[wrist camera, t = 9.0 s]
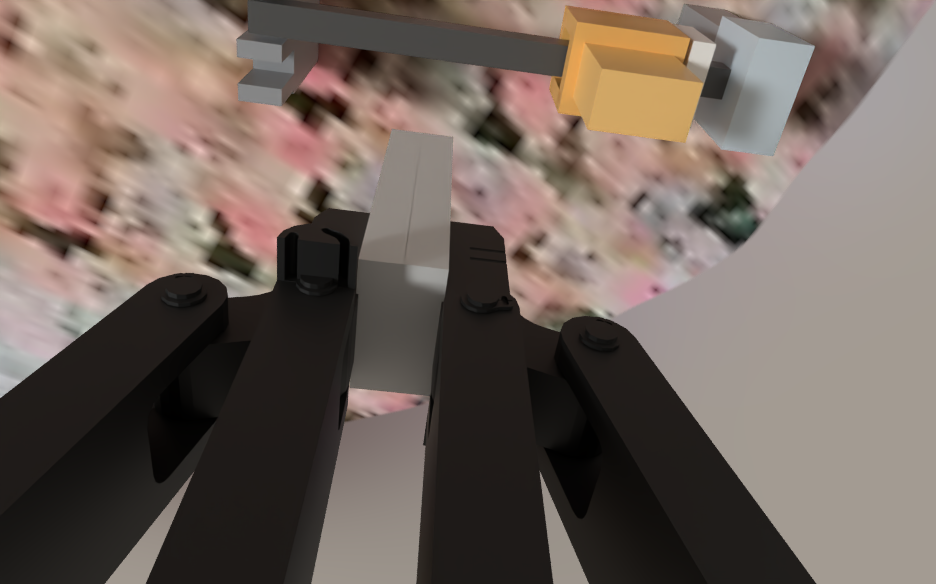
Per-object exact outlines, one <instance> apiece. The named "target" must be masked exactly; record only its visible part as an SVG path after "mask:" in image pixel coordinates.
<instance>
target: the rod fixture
mask: <svg viewBox="0 0 936 584" xmlns="http://www.w3.org/2000/svg"><path fill="white" fill-rule="evenodd" d="M673 25H674V26H675V27H677V28H678V29H679V30H680V31H682V32H683V33H684V34H686V35H687V36H688V37H689V38H690V42H689V45H688V48H687V52H686V55H685V59H684V62H683V64H684V65H685V66H686V67H687V68H688V69H689V70H690V71H691V72H692V73H693V74H694V75H696V76H697V77H698V78H699V79H700V80H701V81H702V82H703V83H704V84H703V87H702V90H701V94H700V97H699V100H698V103H697V106H696V110H695V113H694V116H693V118H694V119H695V120H696V121H697V123H698V124H699V125H700V126H701V127H702V128H703V129H704V130H705V132H706V133H707V134H708V135H709V136H710V137H711V138H712V139H713V140H714V142H715V143H716V144H717V145H718V146H719V147H720V148H721V149H723V150H730V151H738V152H745V153H752V154H760V155H767V156H773V155H774V153H775V150H776V148H777V145H778V142H779V140H780V137H781V134H782V132H783V129H784V127H785V124H786V121H787V119H788V116H789V113H790V111H791V108H792V106H793V103H794V100H795V98H796V95H797V92H798V90H799V87H800V85H801V82H802V79H803V77H804V74H805V71H806V69H807V66H808V64H809V61H810V58H811V56H812V53H813V50H814V48H815V46H814V45H812V44H810V43H808V42H806V41H804V40H802V39H801V38H799V37H797V36H795V35H793V34H791V33H789V32H787V31H785V30H783V29H782V28H780V27H778V26H776V25H774V24H772V23H766V22H760V21H753V20H746V19H741V18H739V17H737V16H736V15H734V14H732V13H730V12H729V11H727V10H722V9H716V8H709V7H702V6H696V5H689V4H684V5H683V9H682V12H681V16H680V19H679V23H678V25H677V24H673ZM318 43H322V44H329V45H336V46H343V47H350V48H358V49H365V50H372V51H379V52H386V53H393V54H400V55H407V56H414V57H422V58H429V59H436V60H443V61H450V62H457V63H464V64H471V65H478V66H486V67H493V68H500V69H507V70H514V71H521V72H528V73H535V74H542V75H550V76H557V77H562V75H563V70H564V65H565V60H566V55H567V50H568V45H569V40H564V39H557V38H550V37H543V36H536V35H530V34H523V33H516V32H509V31H502V30H495V29H488V28H481V27H474V26H467V25H460V24H454V23H447V22H440V21H433V20H426V19H419V18H412V17H405V16H398V15H391V14H385V13H378V12H371V11H364V10H357V9H350V8H343V7H336V6H329V5H322V4H320V0H248V30H247V31H246V32H245V33H244V34H242V35H241V36H240V37H238V38H237V57H240V58H247V59H253V69H252V70H251V71H250V72H249V73H248V74H247V75H246V76H245V77H244V78H243V79H242V80H241V81H240V82H239V83H238V101H246V102H253V103H261V104H268V105H276V106H282V105H283V104H284V102H285V101H286V100H287V98H288V97H289V96H290V94H291V93H292V94H294V93H295V91H296V90H297V89H298V87H299V86H300V84H301V83H302V82H303V80H304V79H305V78H306V76H307V75H308V73H309V72H310V71H311V69H312V68H313V67H314V65H315V64H316V62H317V61H318ZM692 122H693V119H692ZM691 125H692V123H691ZM690 128H691V126H690Z"/></svg>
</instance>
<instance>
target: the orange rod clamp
mask: <svg viewBox="0 0 936 584" xmlns="http://www.w3.org/2000/svg"><path fill="white" fill-rule="evenodd" d="M559 39H564V40H569V45H568V50H567V55H566V60H565V65H564V70H563V75H562V77H557V76H552V78H551V83H550V88H549V90H550V92H551V95H552V98H553V100H554V103H555V105H556V108H557V111H558V113H562V114H569V115H576V116H582V118H583V120H584V122H585V125H586V127H587V129H588V130H594V131H602V132H609V133H617V134H624V135H631V136H639V137H646V138H654V139H661V140H668V141H676V142H683V143H685V142H686V139H687V135H688V132H689V129H690V126H691V123H692V119H693V116H694V113H695V110H696V106H697V103H698V100H699V97H700V94H701V90H702V87H703V84H704V83H703V82H702V81H701V80H700V79H699V78H698V77H697V76H696V75H694V74H693V73H692V72H691V71H690V70H689V69H688V68H687V67H686V66H685V65H684V64H683V62H684V59H685V55H686V52H687V48H688V45H689V42H690V38H689V37H688V36H687V35H686V34H684V33H683V32H682V31H680V30H679V29H678V28H677V27H675V26H674V25H673V24H671V23H670V22H669V21H667V20H661V19H654V18H647V17H641V16H634V15H627V14H620V13H614V12H607V11H600V10H594V9H587V8H580V7H573V6H567V5H566V7H565V12H564V17H563V22H562V27H561V32H560V37H559Z"/></svg>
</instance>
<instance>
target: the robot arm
mask: <svg viewBox="0 0 936 584" xmlns="http://www.w3.org/2000/svg"><path fill="white" fill-rule="evenodd" d="M452 155H453V137H449V136H442V135H434V134H427V133H419V132H412V131H404V130H396V129H392V131H391V135H390V139H389V143H388V147H387V150H386V154H385V158H384V162H383V166H382V170H381V174H380V177H379V181H378V185H377V189H376V193H375V197H374V201H373V204H372V208H371V212H370V213H364V212H356V211H347V210H339V209H331V208H328V209H327V210H325V211H324V212H322V213H321V214H319V215H318V216H316V217H315V218H314V220H313V222H312V224H304V225H298V226H293V227H291V228H289V229H286V230H284V231H283V232H282V233H281V234H280V235H279V236H278V237H277V282H276V284H275V286H274V289H273V291H271V292H268V293H264V294H261V295H254V296H247V297H233V298H228V294H227V288H226V286H225V285H224V284H222V283H221V282H220V281H219V280H217V279H215V278H212V277H210V276H207V275H201V274H195V273H185V274H183V273H178V274H173V275H169V276H166V277H162V278H159V279H157V280H155V281H153V282H151V283H149V284H147V285H146V286H145V287H143V288H142V289H141V290H140V291H138V292H137V293H136V294H134V295H133V296H132V297H130V298H129V299H128V300H127V301H125V302H124V303H123V304H121V305H120V306H119V307H118V308H116V309H115V310H114V311H112V312H111V313H110V314H109V315H107V316H106V317H105V318H103V319H102V320H101V321H99V322H98V323H97V324H96V325H94V326H93V327H92V328H90V329H89V330H88V331H87V332H85V333H84V334H83V335H81V336H80V337H79V338H78V339H76V340H75V341H74V342H72V343H71V344H70V345H68V346H67V347H66V348H65V349H63V350H62V351H61V352H59V353H58V354H57V355H56V356H54V357H53V358H52V359H50V360H49V361H48V362H47V363H45V364H44V365H43V366H41V367H40V368H39V369H37V370H36V371H35V372H34V373H32V374H31V375H30V376H28V377H27V378H26V379H25V380H23V381H22V382H21V383H19V384H18V385H17V386H15V387H14V388H13V389H12V390H10V391H9V392H8V393H6V394H5V395H4V396H3V397H1V398H0V584H105V583H106V581H107V580H108V579H109V578H110V576H111V575H112V574H113V573H114V571H115V570H116V569H117V568H118V566H119V565H120V564H121V563H122V561H123V560H124V559H125V558H126V556H127V555H128V554H129V553H130V551H131V550H132V548H133V547H134V546H135V545H136V544H137V542H138V541H139V540H140V539H141V537H142V536H143V535H144V534H145V532H146V531H147V530H148V529H149V527H150V526H151V525H152V523H153V522H154V521H155V520H156V519H157V517H158V516H159V515H160V514H161V512H162V511H163V510H164V509H165V507H166V506H167V505H168V504H169V502H170V501H171V500H172V498H173V497H174V496H175V495H176V493H177V492H178V491H179V489H180V488H181V487H182V486H183V485H184V483H185V482H186V481H187V480H188V478H189V477H190V476H191V475H192V473H193V472H194V474H193V476H192V478H191V481H190V483H189V485H188V487H187V490H186V492H185V494H184V497H183V499H182V501H181V503H180V506H179V508H178V511H177V513H176V515H175V517H174V520H173V522H172V524H171V527H170V529H169V531H168V534H167V536H166V538H165V541H164V543H163V545H162V547H161V550H160V552H159V555H158V557H157V559H156V561H155V564H154V566H153V568H152V571H151V573H150V575H149V578H148V580H147V582H146V584H311V582H312V576H313V572H314V567H315V562H316V557H317V552H318V547H319V543H320V538H321V532H322V528H323V523H324V518H325V513H326V508H327V504H328V499H329V494H330V489H331V484H332V478H333V474H334V469H335V465H336V460H337V455H338V449H339V445H340V440H341V435H342V430H343V426H344V421H345V416H346V411H347V406H348V390H349V382H350V388H358V389H368V390H377V391H387V392H397V393H406V394H416V395H426V396H430V401H429V408H428V415H427V422H426V429H425V436H424V443H423V445H425V446H426V448H425V462H424V477H423V492H422V507H421V523H420V537H419V553H418V568H417V583H416V584H553V578H552V570H551V561H550V553H549V545H548V538H547V529H546V521H545V513H544V506H543V505H544V504H543V496H542V489H541V480H540V472H541V474H542V477H543V479H544V481H545V484H546V486H547V488H548V491H549V493H550V495H551V497H552V500H553V502H554V504H555V507H556V509H557V511H558V513H559V516H560V518H561V520H562V523H563V525H564V527H565V530H566V532H567V534H568V536H569V539H570V541H571V543H572V546H573V548H574V550H575V552H576V555H577V557H578V559H579V562H580V564H581V566H582V569H583V571H584V573H585V575H586V578H587V580H588V582H589V584H816V583H815V581H814V580H813V579H812V577H811V576H810V574H809V573H808V572H807V570H806V569H805V568H804V566H803V565H802V564H801V562H800V561H799V560H798V558H797V557H796V555H795V554H794V553H793V551H792V550H791V549H790V547H789V546H788V545H787V543H786V542H785V540H784V539H783V538H782V536H781V535H780V534H779V532H778V531H777V530H776V528H775V527H774V526H773V524H772V523H771V521H770V520H769V519H768V517H767V516H766V515H765V513H764V512H763V511H762V509H761V508H760V506H759V505H758V504H757V502H756V501H755V500H754V499H753V497H752V496H751V494H750V493H749V492H748V490H747V489H746V487H745V486H744V485H743V483H742V482H741V481H740V479H739V478H738V477H737V475H736V474H735V472H734V471H733V470H732V468H731V467H730V466H729V464H728V463H727V462H726V460H725V459H724V457H723V456H722V455H721V453H720V452H719V451H718V449H717V448H716V447H715V445H714V444H713V443H712V441H711V440H710V438H709V437H708V436H707V434H706V433H705V432H704V430H703V429H702V428H701V426H700V425H699V423H698V422H697V421H696V420H695V418H694V417H693V415H692V414H691V413H690V411H689V410H688V408H687V407H686V406H685V404H684V403H683V402H682V401H681V399H680V398H679V396H678V395H677V394H676V392H675V391H674V390H673V388H672V387H671V385H670V384H669V383H668V381H667V380H666V379H665V377H664V376H663V374H662V373H661V372H660V371H659V369H658V368H657V366H656V365H655V364H654V362H653V361H652V360H651V358H650V357H649V356H648V354H647V353H646V352H645V350H644V349H643V348H642V346H641V345H640V343H639V342H638V340H637V339H636V338H635V337H634V336H633V335H632V334H631V333H630V332H629V331H628V330H627V329H626V328H624V327H622V326H620V325H619V324H617V323H614V322H613V321H611V320H608V319H604V318H600V317H590V316H582V317H576V318H572V319H570V320H568V321H567V322H565V323H564V324H563V326H562V329H561V331H560V332H557V331H554V330H551V329H547V328H544V327H542V326H539V325H536V324H534V323H532V322H530V321H529V320H527V319H525V318H524V317H522V316H521V315H520V308H519V305H518V303H517V301H516V299H515V298H514V297H512V296H511V295H510V290H509V281H508V272H507V264H506V254H505V245H504V238H503V237H502V236H501V235H500V234H499V233H498V232H497V230H496V229H495V228H494V227H492V226H484V225H476V224H468V223H460V222H452V221H450V216H451V185H452ZM539 470H540V472H539Z"/></svg>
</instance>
